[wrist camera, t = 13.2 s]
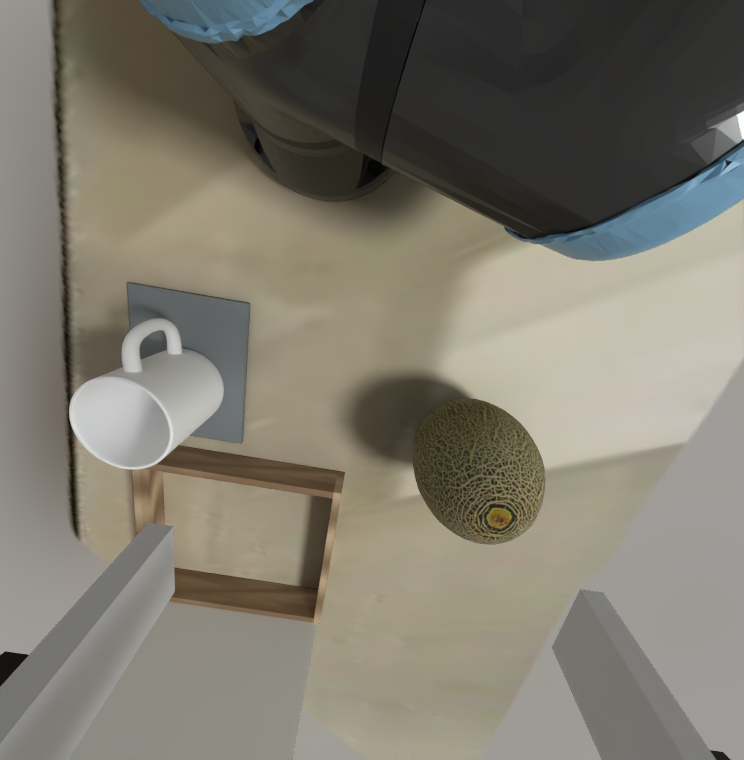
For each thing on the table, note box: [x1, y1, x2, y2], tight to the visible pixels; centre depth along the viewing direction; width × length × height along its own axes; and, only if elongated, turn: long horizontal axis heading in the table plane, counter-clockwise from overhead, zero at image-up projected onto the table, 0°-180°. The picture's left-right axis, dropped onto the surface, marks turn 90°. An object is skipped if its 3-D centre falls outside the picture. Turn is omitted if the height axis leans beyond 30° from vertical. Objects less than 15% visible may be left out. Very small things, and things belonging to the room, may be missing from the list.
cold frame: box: [132, 446, 345, 624], centre depth 42 cm, size 20×23×4 cm
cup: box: [69, 318, 224, 469], centre depth 32 cm, size 8×12×10 cm
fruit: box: [413, 399, 545, 544], centre depth 32 cm, size 11×11×15 cm
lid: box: [68, 601, 317, 760], centre depth 36 cm, size 3×22×24 cm, turn 81°
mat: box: [127, 283, 250, 444], centre depth 37 cm, size 16×12×1 cm
